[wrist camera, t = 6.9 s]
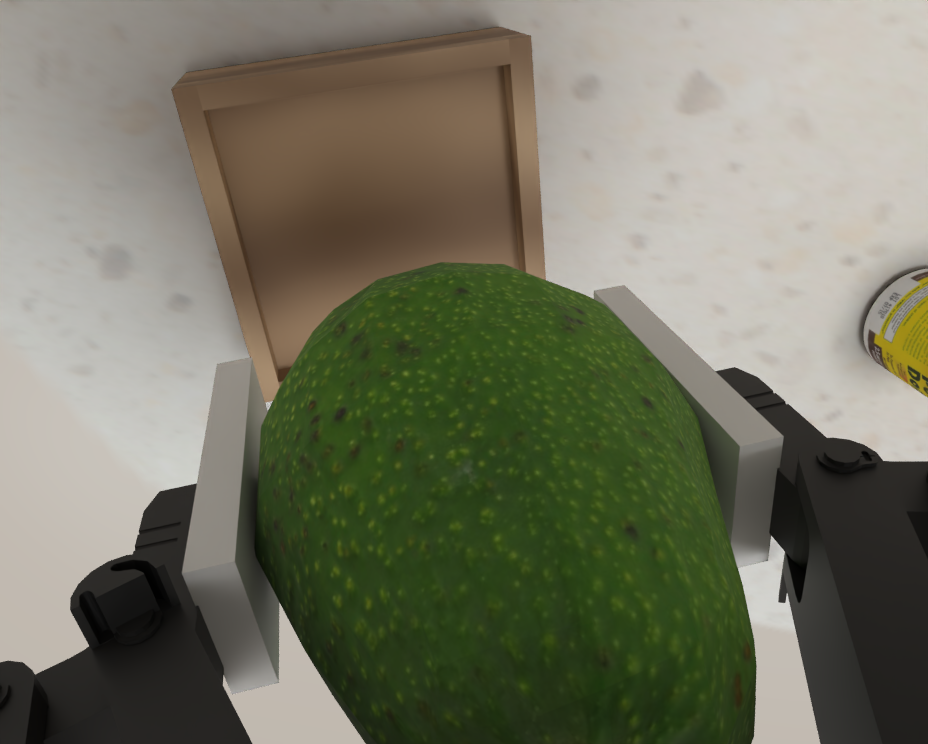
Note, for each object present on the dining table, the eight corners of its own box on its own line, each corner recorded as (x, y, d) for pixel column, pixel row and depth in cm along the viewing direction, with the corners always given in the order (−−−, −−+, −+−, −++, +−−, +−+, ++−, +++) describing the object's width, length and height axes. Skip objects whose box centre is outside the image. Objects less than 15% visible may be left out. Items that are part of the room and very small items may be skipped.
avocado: (591, 182, 17) (1071, 526, 7) (581, 463, 21) (874, 959, 10) (229, 222, 16) (117, 725, 5) (291, 513, 19) (296, 1133, 9)
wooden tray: (186, 72, 26) (171, 88, 23) (500, 26, 28) (530, 36, 24) (265, 355, 32) (263, 402, 29) (522, 305, 33) (549, 344, 30)
